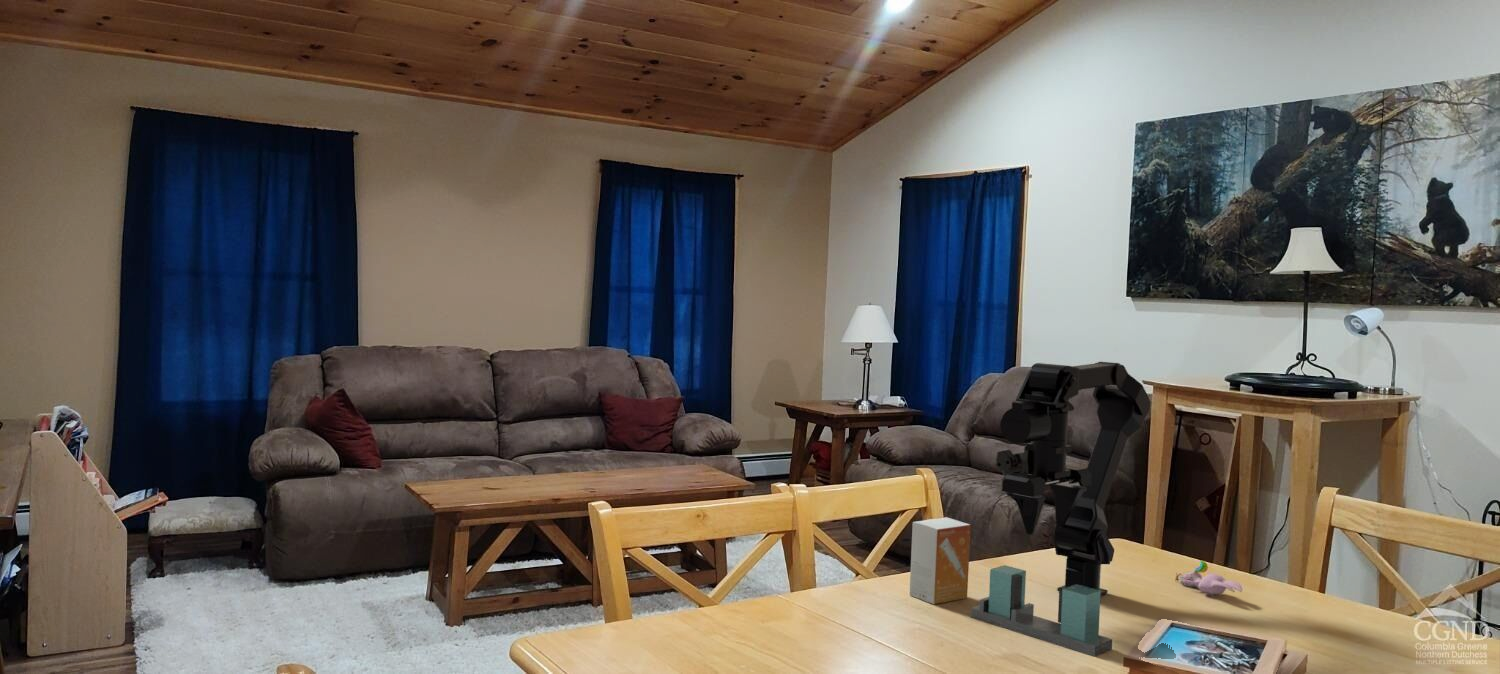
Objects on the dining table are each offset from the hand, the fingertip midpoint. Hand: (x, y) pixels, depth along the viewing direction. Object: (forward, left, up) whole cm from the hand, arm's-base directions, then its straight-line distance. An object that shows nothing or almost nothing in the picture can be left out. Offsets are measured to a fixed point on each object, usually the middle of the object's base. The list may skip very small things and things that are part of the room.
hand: (1045, 530), depth 172 cm
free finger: (+12, +1, -12) cm, 17 cm away
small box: (+10, -14, -13) cm, 22 cm away
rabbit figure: (-32, +14, -13) cm, 37 cm away
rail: (+12, +7, -13) cm, 19 cm away
